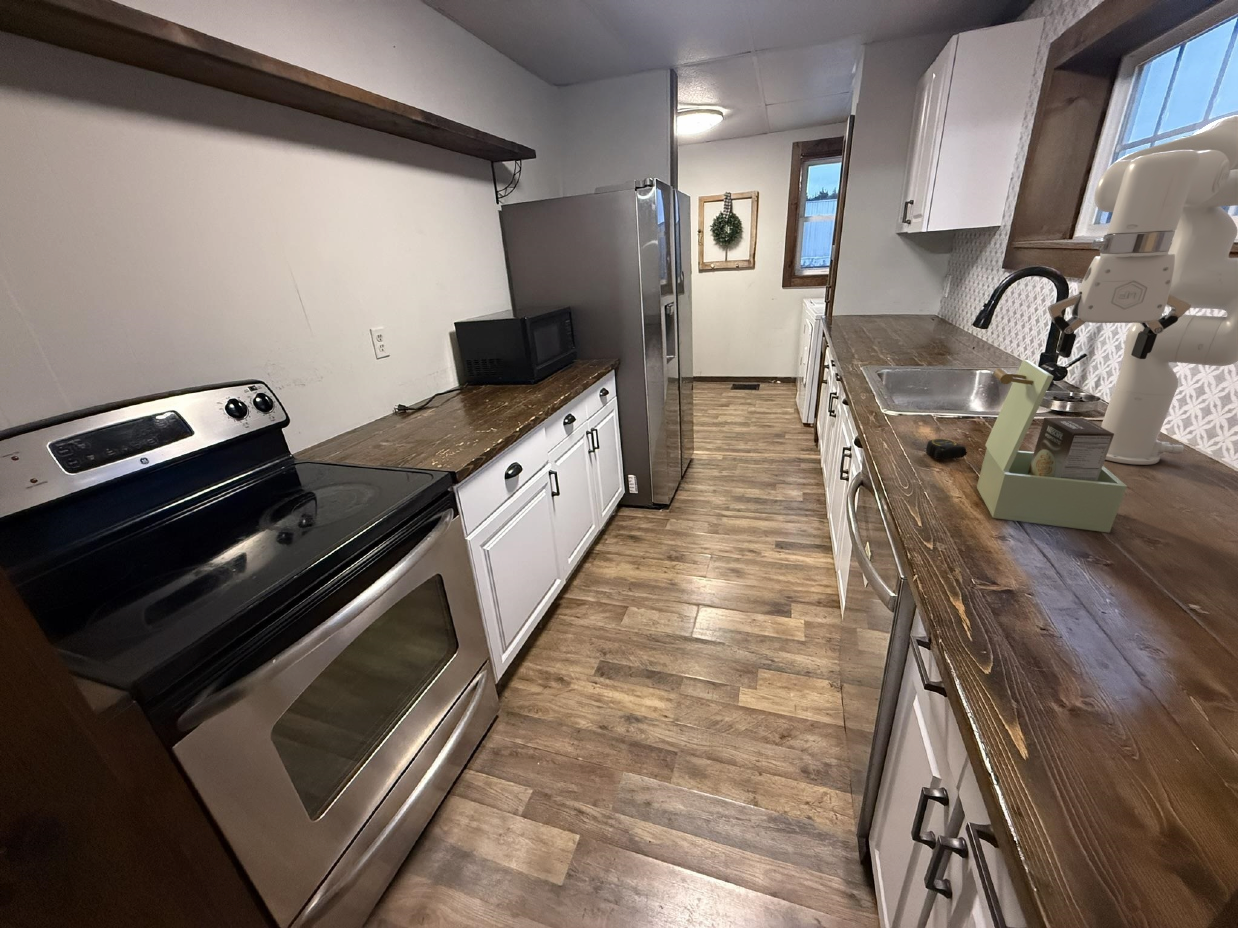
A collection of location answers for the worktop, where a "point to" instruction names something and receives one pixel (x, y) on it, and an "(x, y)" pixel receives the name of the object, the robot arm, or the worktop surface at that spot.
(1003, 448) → the lid
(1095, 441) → the coffee box
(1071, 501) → the chest
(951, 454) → the tape measure
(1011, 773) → the worktop surface
